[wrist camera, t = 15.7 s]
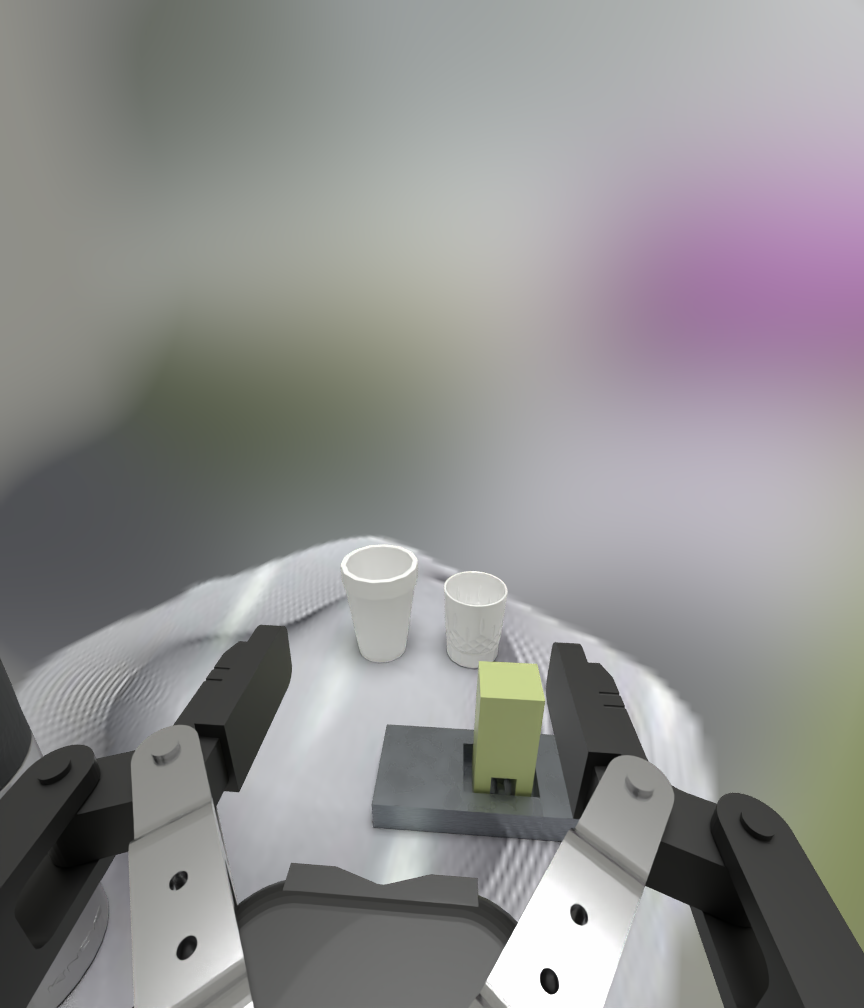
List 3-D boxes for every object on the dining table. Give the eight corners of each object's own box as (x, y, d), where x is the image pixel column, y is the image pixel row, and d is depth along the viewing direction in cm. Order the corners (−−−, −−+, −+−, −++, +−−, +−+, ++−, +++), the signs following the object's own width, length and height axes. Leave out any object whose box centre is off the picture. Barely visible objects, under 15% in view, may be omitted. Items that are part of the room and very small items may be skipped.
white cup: (487, 681, 54) (492, 613, 50) (431, 658, 58) (432, 593, 54) (510, 644, 60) (516, 581, 57) (458, 625, 64) (461, 565, 60)
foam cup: (357, 622, 64) (352, 542, 59) (420, 625, 64) (420, 545, 59) (339, 669, 56) (332, 581, 51) (413, 674, 55) (412, 584, 50)
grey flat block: (373, 827, 38) (371, 804, 37) (387, 745, 46) (386, 724, 45) (632, 846, 37) (639, 823, 36) (604, 759, 45) (609, 738, 43)
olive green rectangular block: (472, 807, 40) (480, 697, 35) (471, 765, 43) (478, 661, 38) (529, 811, 39) (545, 700, 34) (523, 769, 43) (537, 664, 38)
